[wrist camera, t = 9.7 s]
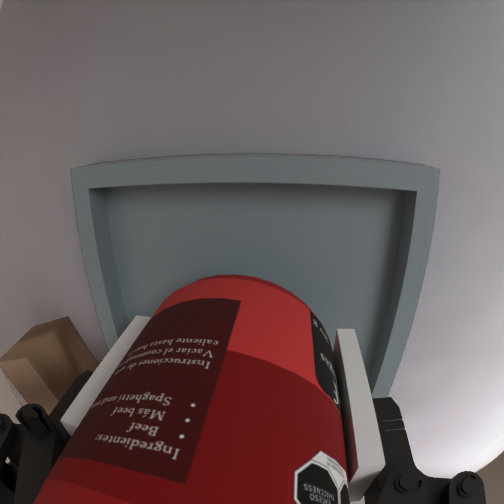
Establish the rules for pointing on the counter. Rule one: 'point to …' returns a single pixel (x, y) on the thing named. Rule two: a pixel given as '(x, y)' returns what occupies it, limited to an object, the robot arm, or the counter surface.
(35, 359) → the walnut block
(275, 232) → the tray
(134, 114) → the counter surface
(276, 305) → the canned food
